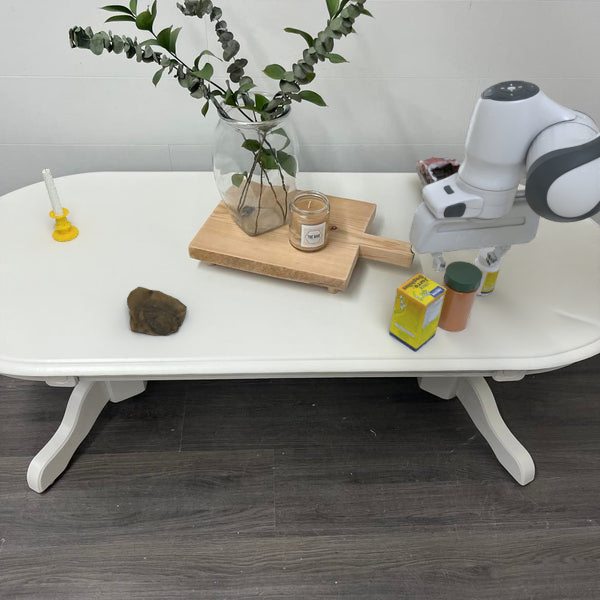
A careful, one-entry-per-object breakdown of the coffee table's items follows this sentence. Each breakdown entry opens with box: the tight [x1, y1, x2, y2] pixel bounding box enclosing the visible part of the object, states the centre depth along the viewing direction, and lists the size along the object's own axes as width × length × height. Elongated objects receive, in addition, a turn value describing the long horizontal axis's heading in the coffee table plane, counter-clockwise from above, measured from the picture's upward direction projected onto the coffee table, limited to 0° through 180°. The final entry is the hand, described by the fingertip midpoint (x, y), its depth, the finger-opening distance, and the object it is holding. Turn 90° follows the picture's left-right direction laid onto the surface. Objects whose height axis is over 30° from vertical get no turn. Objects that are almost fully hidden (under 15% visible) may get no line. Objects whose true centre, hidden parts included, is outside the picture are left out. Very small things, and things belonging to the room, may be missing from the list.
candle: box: [41, 168, 80, 243], centre depth 114 cm, size 5×5×16 cm
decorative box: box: [415, 156, 462, 189], centre depth 127 cm, size 13×20×10 cm, turn 5°
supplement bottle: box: [473, 247, 502, 297], centre depth 107 cm, size 5×5×8 cm
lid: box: [443, 260, 482, 292], centre depth 96 cm, size 6×6×2 cm
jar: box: [437, 278, 479, 333], centre depth 100 cm, size 6×6×10 cm
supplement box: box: [389, 272, 446, 352], centre depth 97 cm, size 6×6×11 cm
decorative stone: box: [126, 286, 188, 337], centre depth 101 cm, size 10×9×4 cm
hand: (464, 266), depth 95 cm, fingers open, 8 cm apart
